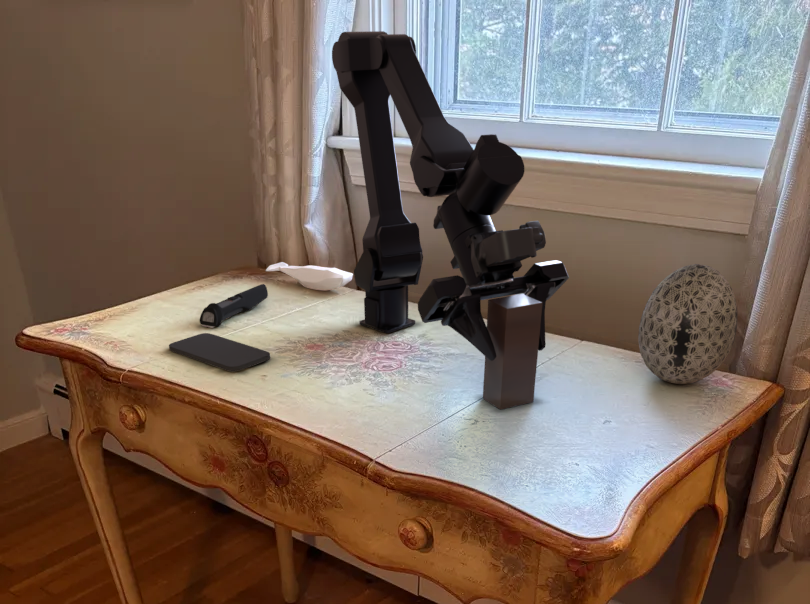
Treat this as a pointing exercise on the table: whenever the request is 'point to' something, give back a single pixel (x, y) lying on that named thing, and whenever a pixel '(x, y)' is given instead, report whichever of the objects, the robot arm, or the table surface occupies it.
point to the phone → (219, 352)
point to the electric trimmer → (232, 306)
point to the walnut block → (512, 350)
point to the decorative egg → (688, 325)
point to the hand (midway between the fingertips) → (518, 353)
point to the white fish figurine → (314, 275)
